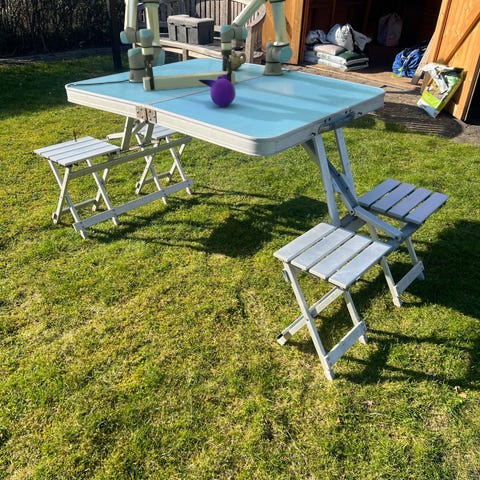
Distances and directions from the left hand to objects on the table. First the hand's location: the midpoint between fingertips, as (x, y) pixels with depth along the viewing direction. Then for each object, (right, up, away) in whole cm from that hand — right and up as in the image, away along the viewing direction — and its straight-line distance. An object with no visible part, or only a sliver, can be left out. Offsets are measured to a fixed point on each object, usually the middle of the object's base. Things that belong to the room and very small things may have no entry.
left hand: (151, 88), depth 314 cm
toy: (+49, -24, -41) cm, 68 cm away
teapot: (+58, +35, +58) cm, 89 cm away
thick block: (+26, +4, +7) cm, 28 cm away
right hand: (+53, +9, +14) cm, 55 cm away
